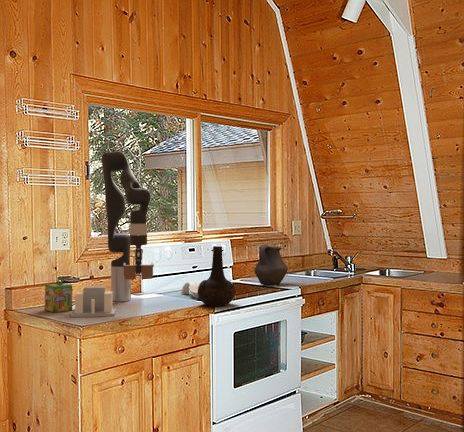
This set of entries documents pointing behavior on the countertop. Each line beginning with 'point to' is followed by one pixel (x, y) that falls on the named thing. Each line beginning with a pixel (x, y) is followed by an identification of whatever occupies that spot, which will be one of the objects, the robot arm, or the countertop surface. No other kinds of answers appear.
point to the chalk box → (58, 297)
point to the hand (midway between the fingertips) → (138, 273)
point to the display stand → (93, 302)
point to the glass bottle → (216, 283)
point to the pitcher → (270, 266)
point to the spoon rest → (193, 289)
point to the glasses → (131, 271)
